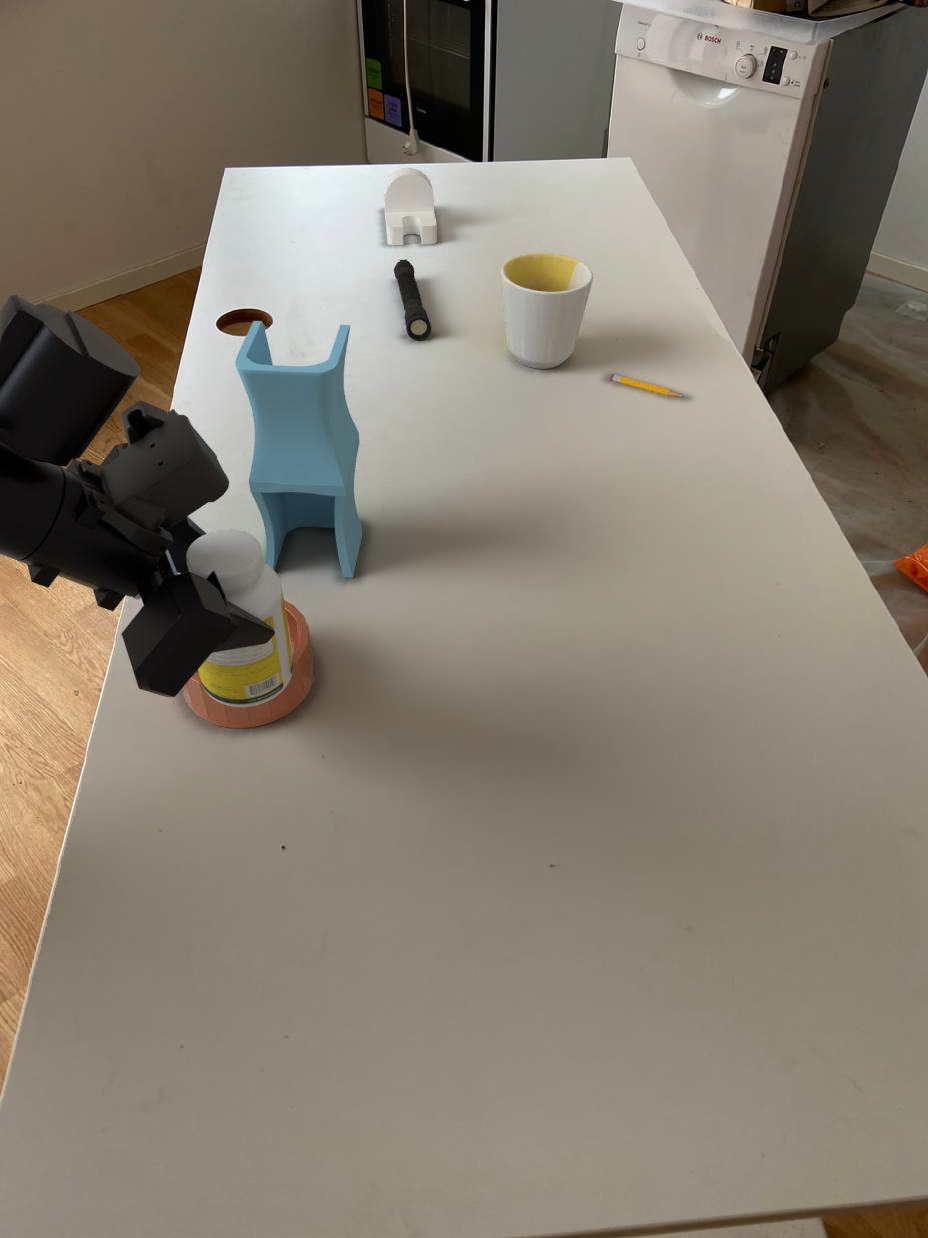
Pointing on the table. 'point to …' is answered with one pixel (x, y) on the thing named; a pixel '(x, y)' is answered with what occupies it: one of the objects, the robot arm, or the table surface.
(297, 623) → the bowl
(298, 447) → the stacked u-channel piece
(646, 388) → the pencil
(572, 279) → the mug
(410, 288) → the flashlight
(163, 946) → the table surface
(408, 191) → the slotted bracket
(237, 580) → the pill bottle
